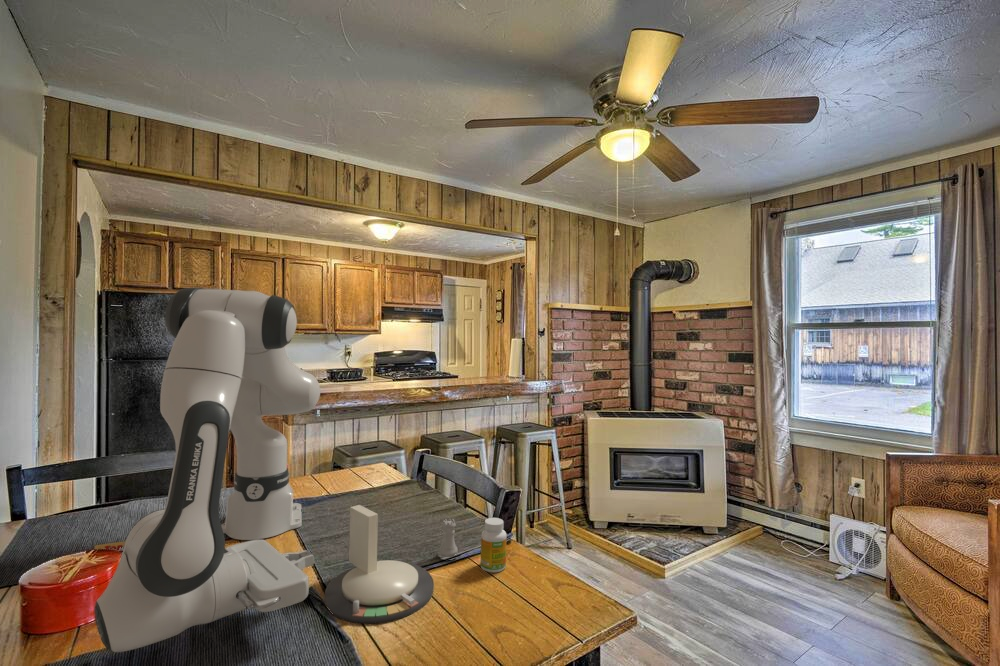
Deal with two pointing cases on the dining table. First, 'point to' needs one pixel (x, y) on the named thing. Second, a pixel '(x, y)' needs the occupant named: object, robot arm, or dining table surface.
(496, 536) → the supplement bottle
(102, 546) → the chocolate bar
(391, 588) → the peg dial
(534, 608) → the dining table surface
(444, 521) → the rook chess piece
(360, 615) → the base
